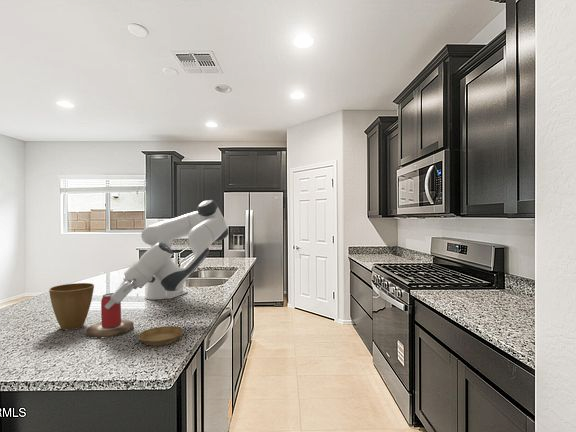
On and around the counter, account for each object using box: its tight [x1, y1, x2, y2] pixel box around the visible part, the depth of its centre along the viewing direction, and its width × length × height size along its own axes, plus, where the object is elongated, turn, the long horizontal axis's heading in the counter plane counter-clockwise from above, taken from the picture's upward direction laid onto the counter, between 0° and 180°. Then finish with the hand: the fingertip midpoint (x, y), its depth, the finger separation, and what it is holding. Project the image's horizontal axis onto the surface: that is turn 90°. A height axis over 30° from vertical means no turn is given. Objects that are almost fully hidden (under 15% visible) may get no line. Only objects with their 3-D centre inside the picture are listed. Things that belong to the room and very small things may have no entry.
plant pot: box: [48, 282, 95, 331], centre depth 131 cm, size 15×15×16 cm
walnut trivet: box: [85, 319, 135, 339], centre depth 127 cm, size 16×16×2 cm
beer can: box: [100, 292, 122, 328], centre depth 127 cm, size 7×7×12 cm
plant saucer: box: [137, 325, 184, 347], centre depth 117 cm, size 15×15×3 cm
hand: (108, 304), depth 126 cm, fingers closed on beer can, 6 cm apart
